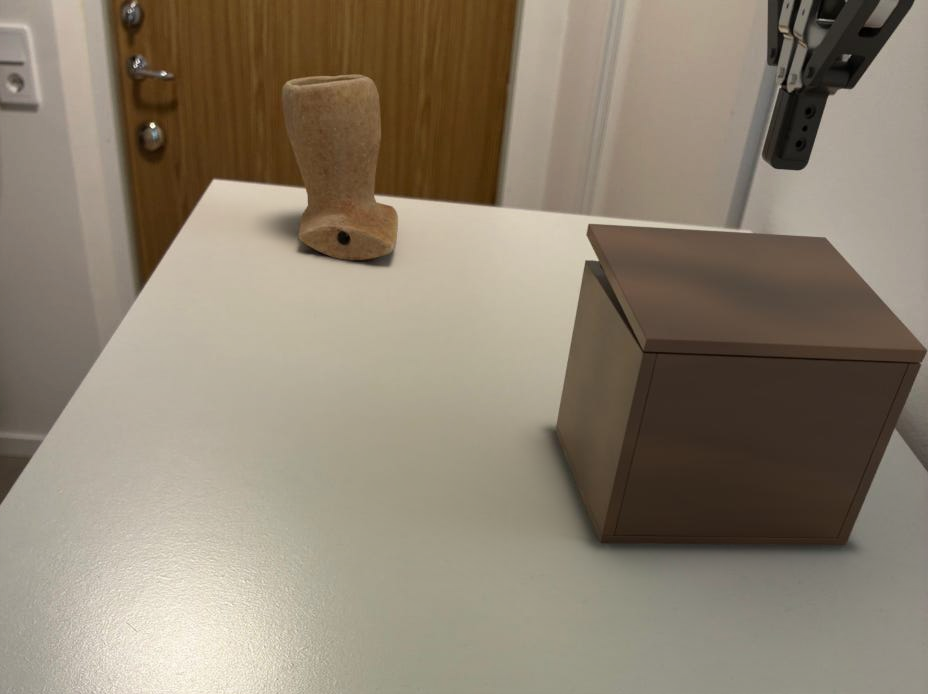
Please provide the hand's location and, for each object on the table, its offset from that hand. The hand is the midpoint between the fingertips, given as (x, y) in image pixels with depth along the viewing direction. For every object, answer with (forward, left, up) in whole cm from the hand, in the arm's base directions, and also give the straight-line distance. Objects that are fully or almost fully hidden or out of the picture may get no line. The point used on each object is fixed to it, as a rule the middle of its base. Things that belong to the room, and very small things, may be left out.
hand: (782, 165), depth 55 cm
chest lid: (0, -1, -8) cm, 8 cm away
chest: (0, 0, -21) cm, 21 cm away
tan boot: (+23, -48, -21) cm, 57 cm away
